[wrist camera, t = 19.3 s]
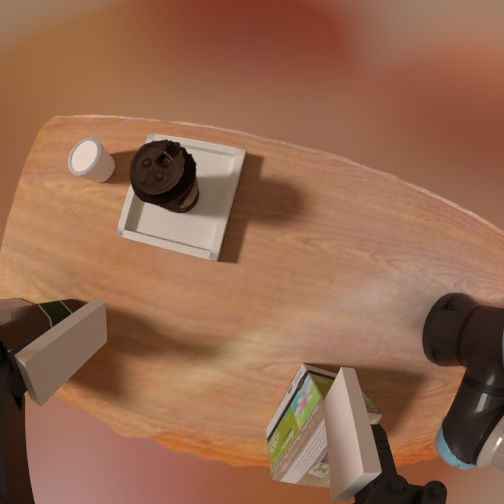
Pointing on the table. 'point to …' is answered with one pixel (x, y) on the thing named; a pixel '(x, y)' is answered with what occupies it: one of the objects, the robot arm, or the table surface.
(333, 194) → the table surface
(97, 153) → the shot glass
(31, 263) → the table surface
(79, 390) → the table surface
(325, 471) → the tea box
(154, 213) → the tray
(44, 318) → the beer bottle
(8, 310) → the cracker box
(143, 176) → the coffee cup
